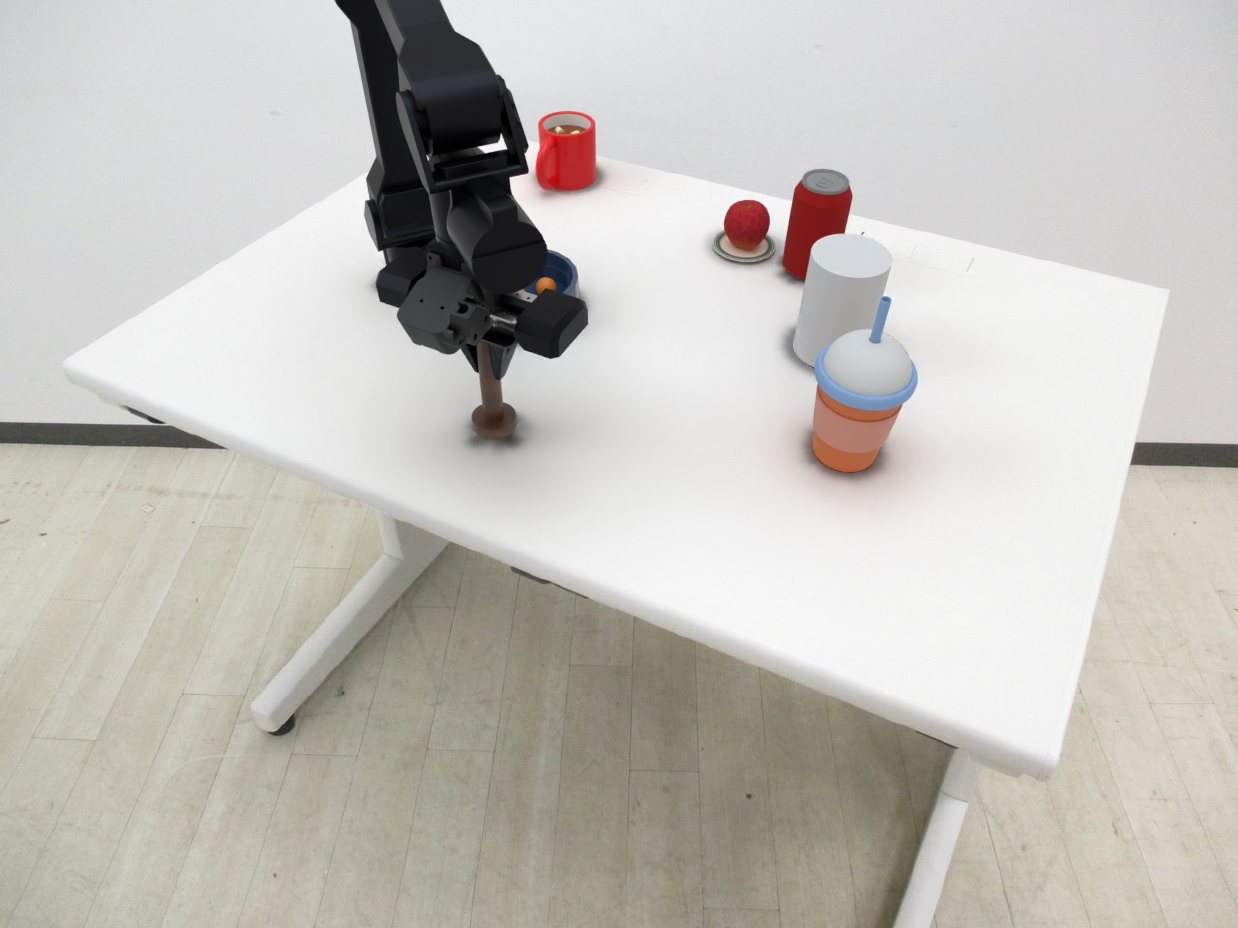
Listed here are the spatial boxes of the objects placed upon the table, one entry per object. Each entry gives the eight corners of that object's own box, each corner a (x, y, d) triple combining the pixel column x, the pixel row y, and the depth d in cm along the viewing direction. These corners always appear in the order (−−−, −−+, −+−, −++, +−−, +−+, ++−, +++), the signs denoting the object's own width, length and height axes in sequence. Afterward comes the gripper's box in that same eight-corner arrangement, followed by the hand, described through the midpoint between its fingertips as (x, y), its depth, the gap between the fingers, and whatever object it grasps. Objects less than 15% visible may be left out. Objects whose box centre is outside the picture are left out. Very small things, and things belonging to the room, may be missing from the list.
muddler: (463, 426, 84) (449, 326, 76) (493, 404, 87) (483, 305, 78) (496, 445, 82) (485, 344, 74) (526, 422, 85) (519, 322, 76)
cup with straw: (891, 491, 80) (945, 339, 67) (794, 476, 81) (829, 324, 68) (889, 425, 86) (939, 275, 73) (799, 413, 87) (832, 263, 74)
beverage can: (844, 265, 106) (864, 175, 98) (822, 291, 102) (842, 200, 94) (794, 249, 109) (810, 160, 100) (771, 274, 105) (786, 184, 96)
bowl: (454, 322, 98) (448, 289, 94) (510, 269, 105) (506, 237, 102) (545, 352, 94) (543, 319, 91) (597, 295, 101) (596, 263, 98)
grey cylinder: (874, 337, 96) (900, 245, 87) (856, 380, 91) (882, 285, 82) (804, 319, 98) (823, 227, 90) (783, 359, 93) (801, 265, 85)
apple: (704, 256, 107) (708, 210, 103) (723, 226, 112) (728, 180, 108) (765, 270, 105) (772, 223, 100) (781, 238, 110) (789, 192, 106)
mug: (517, 196, 118) (512, 141, 112) (557, 159, 125) (554, 106, 119) (567, 209, 115) (565, 153, 110) (605, 170, 123) (605, 117, 117)
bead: (535, 298, 100) (529, 280, 99) (550, 289, 101) (545, 271, 100) (546, 304, 98) (541, 285, 97) (562, 294, 99) (557, 276, 98)
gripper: (313, 246, 67) (357, 394, 78) (516, 311, 61) (531, 461, 72) (400, 184, 74) (428, 328, 85) (589, 237, 68) (592, 384, 79)
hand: (490, 374), depth 80 cm, fingers closed on muddler, 2 cm apart
